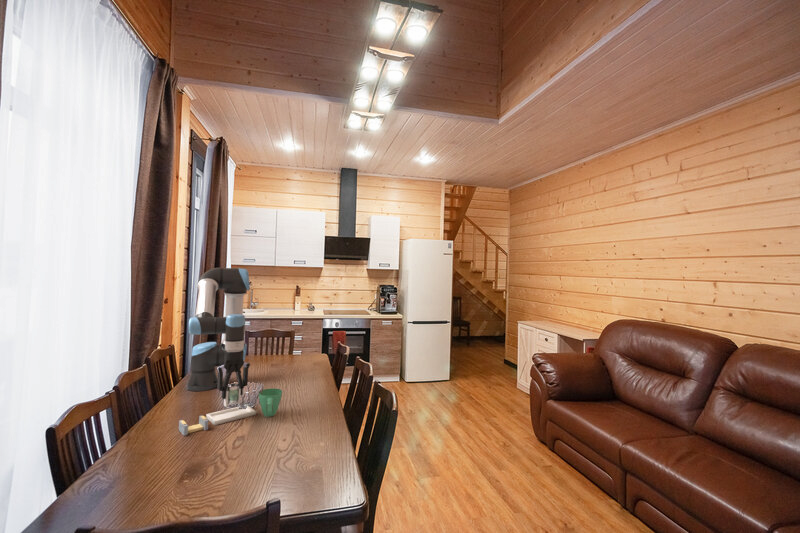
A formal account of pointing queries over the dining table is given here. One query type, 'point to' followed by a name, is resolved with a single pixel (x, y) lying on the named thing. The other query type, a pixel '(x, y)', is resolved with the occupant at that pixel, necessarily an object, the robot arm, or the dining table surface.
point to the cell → (232, 394)
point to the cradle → (185, 429)
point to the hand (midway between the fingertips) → (231, 404)
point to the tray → (229, 415)
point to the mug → (270, 401)
